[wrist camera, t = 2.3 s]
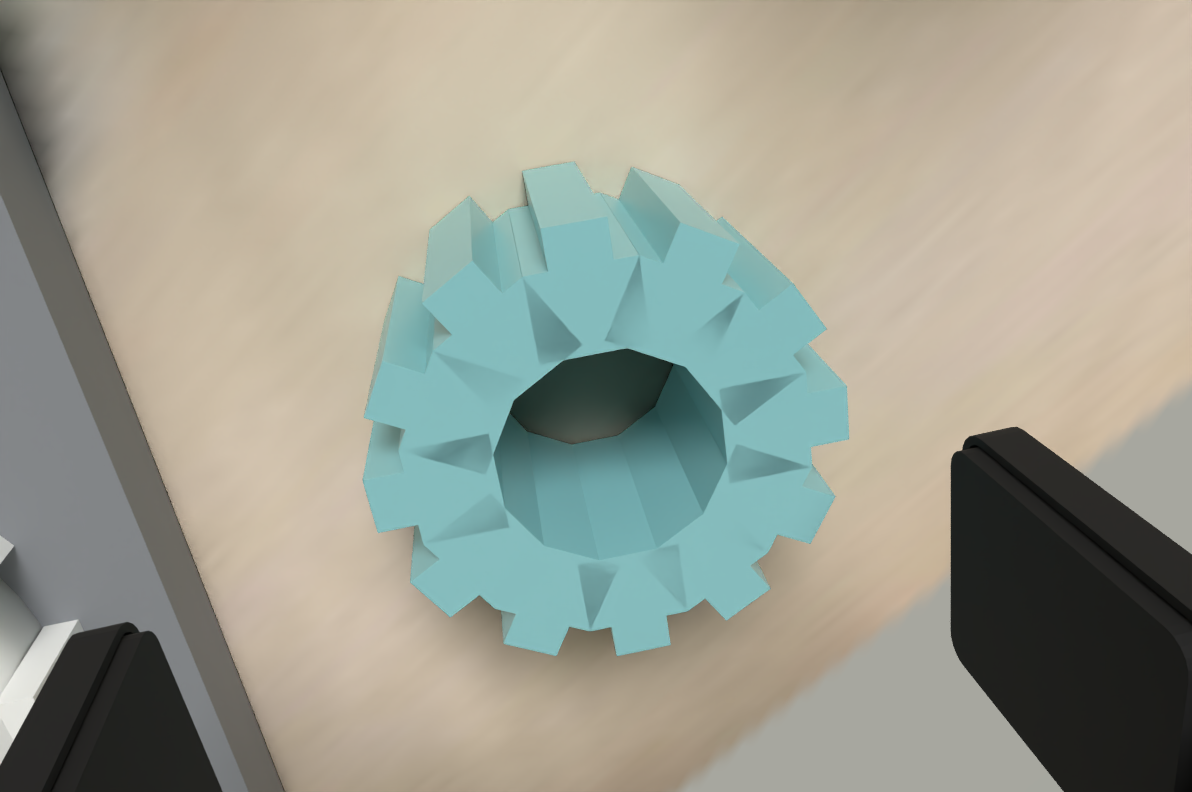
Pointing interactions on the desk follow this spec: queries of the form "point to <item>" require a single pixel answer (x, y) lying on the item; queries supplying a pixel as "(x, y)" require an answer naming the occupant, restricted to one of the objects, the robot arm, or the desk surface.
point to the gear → (609, 465)
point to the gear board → (90, 493)
